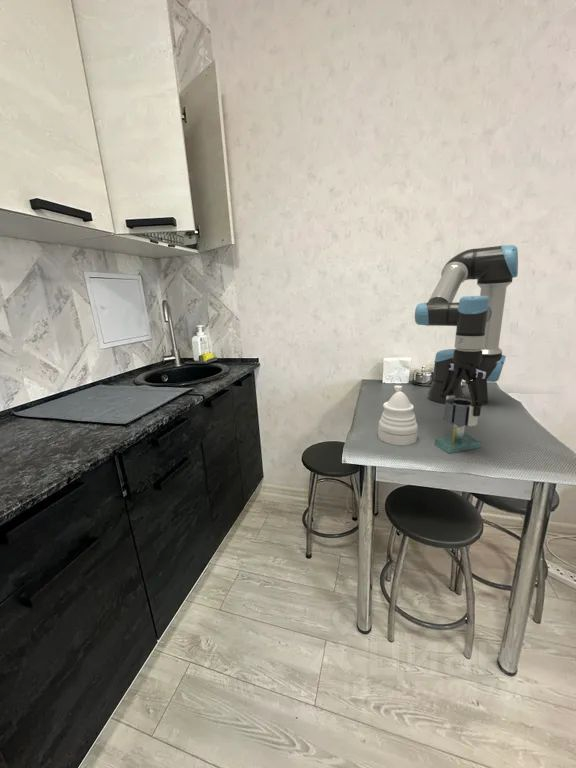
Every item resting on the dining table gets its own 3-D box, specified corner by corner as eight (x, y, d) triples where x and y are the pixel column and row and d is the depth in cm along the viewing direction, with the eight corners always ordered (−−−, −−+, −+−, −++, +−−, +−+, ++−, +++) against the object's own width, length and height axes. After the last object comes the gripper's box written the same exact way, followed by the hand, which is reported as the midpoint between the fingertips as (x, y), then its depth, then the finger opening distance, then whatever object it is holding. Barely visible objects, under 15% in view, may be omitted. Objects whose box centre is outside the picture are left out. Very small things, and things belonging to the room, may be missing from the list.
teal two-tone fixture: (464, 439, 107) (467, 414, 104) (480, 447, 101) (483, 421, 98) (434, 444, 104) (436, 419, 102) (448, 453, 98) (451, 426, 96)
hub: (460, 413, 105) (463, 396, 104) (483, 423, 97) (485, 405, 95) (437, 417, 103) (439, 399, 101) (458, 427, 95) (460, 408, 93)
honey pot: (374, 430, 117) (376, 383, 112) (409, 429, 117) (412, 382, 112) (383, 445, 105) (386, 394, 100) (422, 444, 104) (427, 393, 99)
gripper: (432, 345, 103) (427, 409, 109) (488, 356, 83) (478, 434, 89) (452, 343, 105) (445, 407, 111) (511, 354, 85) (499, 431, 90)
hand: (460, 419), depth 100 cm, fingers closed on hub, 9 cm apart
